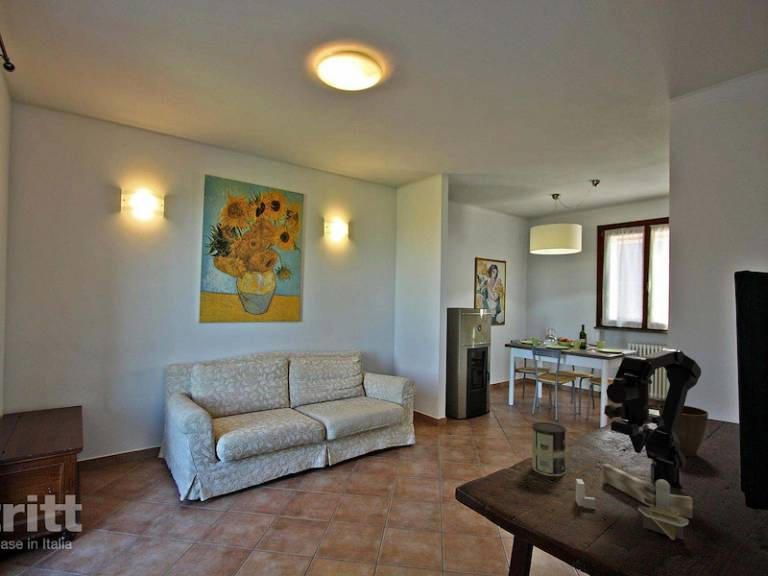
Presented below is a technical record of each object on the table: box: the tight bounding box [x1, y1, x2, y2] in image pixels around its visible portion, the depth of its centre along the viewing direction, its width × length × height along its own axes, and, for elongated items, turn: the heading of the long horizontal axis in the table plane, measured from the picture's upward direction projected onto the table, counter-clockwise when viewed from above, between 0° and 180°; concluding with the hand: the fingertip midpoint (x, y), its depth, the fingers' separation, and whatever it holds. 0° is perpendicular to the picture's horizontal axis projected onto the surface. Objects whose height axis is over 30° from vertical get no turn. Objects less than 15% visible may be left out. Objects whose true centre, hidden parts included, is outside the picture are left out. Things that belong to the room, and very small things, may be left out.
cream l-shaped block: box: [575, 478, 596, 510], centre depth 109 cm, size 4×4×6 cm
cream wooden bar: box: [602, 463, 656, 507], centre depth 115 cm, size 17×2×5 cm, turn 16°
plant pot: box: [657, 404, 709, 457], centre depth 148 cm, size 15×15×16 cm
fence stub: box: [670, 493, 694, 519], centre depth 104 cm, size 5×1×5 cm, turn 76°
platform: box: [637, 504, 689, 541], centre depth 96 cm, size 12×18×7 cm, turn 51°
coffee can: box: [531, 421, 567, 477], centre depth 132 cm, size 10×10×14 cm
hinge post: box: [655, 479, 671, 513], centre depth 105 cm, size 3×3×9 cm
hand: (637, 452), depth 117 cm, fingers closed
